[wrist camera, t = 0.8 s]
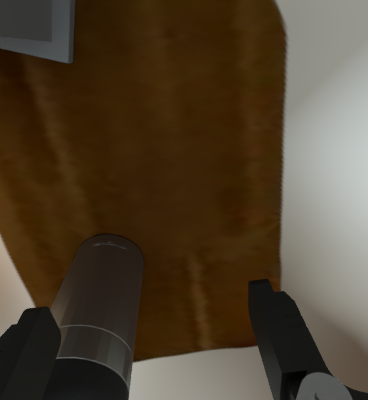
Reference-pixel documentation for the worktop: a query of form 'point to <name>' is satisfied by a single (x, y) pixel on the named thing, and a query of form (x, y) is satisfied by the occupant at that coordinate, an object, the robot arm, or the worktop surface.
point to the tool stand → (38, 28)
